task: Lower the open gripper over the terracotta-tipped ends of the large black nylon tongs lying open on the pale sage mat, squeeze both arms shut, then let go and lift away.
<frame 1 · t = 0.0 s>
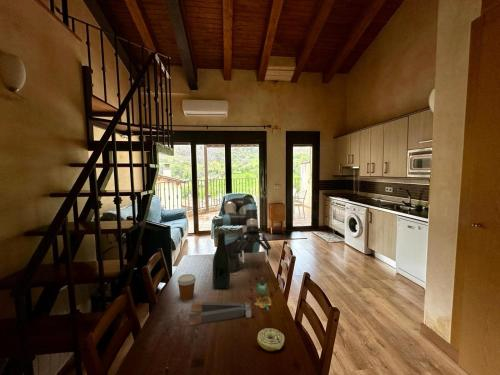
hand: (255, 262, 140), 15 cm above the table, fingers open, 13 cm apart
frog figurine: (262, 304, 125), on the table
tong hinge cap: (247, 313, 115), resting on tong mat
beer bottle: (221, 287, 142), on the table
tong arm far: (218, 307, 116), point 3 cm above the table, hinge at 9.0°
disposable coffee cup: (187, 299, 129), on the table
tong arm near: (218, 315, 110), point 3 cm above the table, hinge at 9.0°
tong mat: (218, 317, 114), on the table
decorated donut: (270, 344, 97), on the table
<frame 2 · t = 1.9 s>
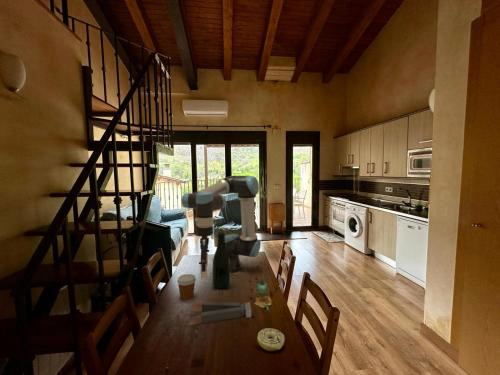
hand: (204, 271, 112), 22 cm above the table, fingers open, 13 cm apart
nothing on the table moved.
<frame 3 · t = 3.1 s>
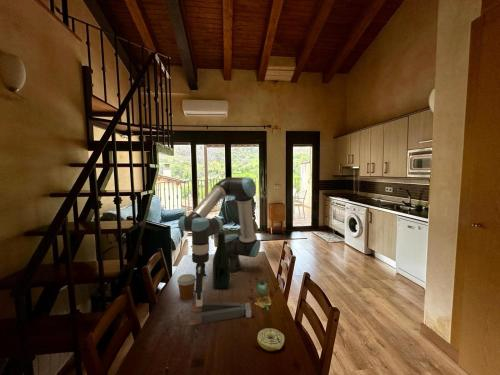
hand: (200, 297, 112), 10 cm above the table, fingers open, 13 cm apart
nothing on the table moved.
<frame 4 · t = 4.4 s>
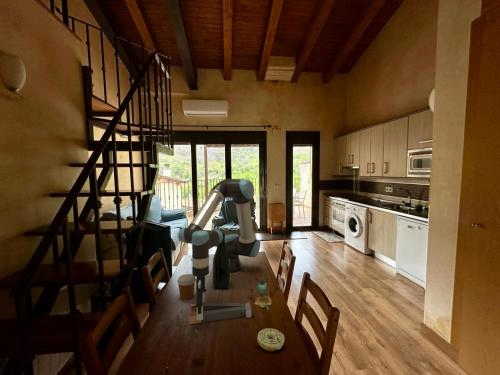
hand: (200, 312, 112), 3 cm above the table, fingers open, 10 cm apart
tong arm far: (218, 307, 116), point 3 cm above the table, hinge at 6.0°, touching gripper
tong arm near: (217, 314, 110), point 3 cm above the table, hinge at 7.2°, touching gripper
everything else where it was.
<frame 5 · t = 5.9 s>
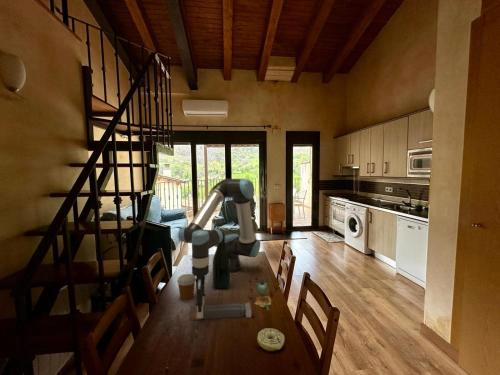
hand: (200, 313, 112), 2 cm above the table, fingers open, 5 cm apart
tong arm far: (217, 309, 115), point 3 cm above the table, hinge at -0.6°, touching gripper, tong arm near
tong arm near: (217, 312, 112), point 3 cm above the table, hinge at -0.3°, touching gripper, tong arm far
everything else where it was.
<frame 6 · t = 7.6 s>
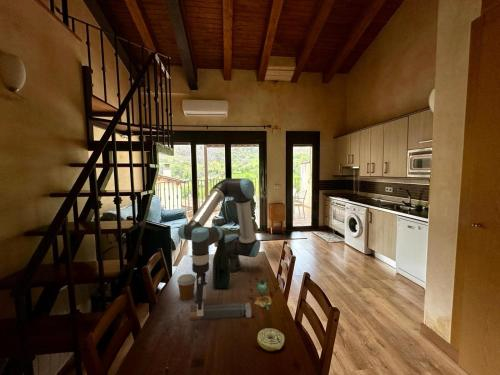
hand: (201, 306, 112), 6 cm above the table, fingers open, 13 cm apart
tong arm far: (217, 309, 115), point 3 cm above the table, hinge at -0.6°, touching tong arm near
tong arm near: (217, 312, 112), point 3 cm above the table, hinge at -0.3°, touching tong arm far
everything else where it was.
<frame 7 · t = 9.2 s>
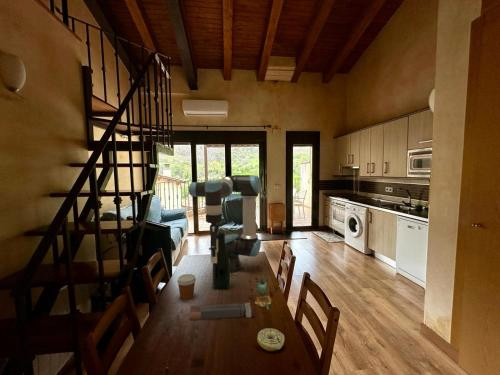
hand: (214, 257, 116), 27 cm above the table, fingers open, 13 cm apart
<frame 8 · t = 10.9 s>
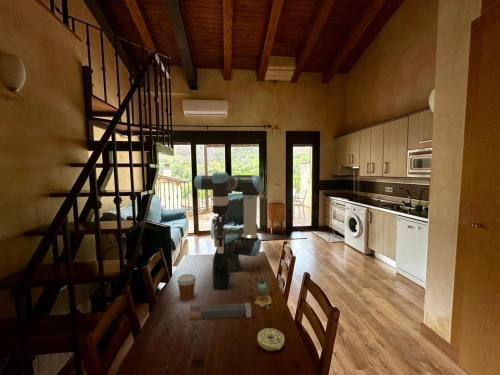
hand: (220, 248, 118), 31 cm above the table, fingers open, 13 cm apart
at the end: tong arm near at +0° (first picture: +9°); tong arm far at -1° (first picture: +9°) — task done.
